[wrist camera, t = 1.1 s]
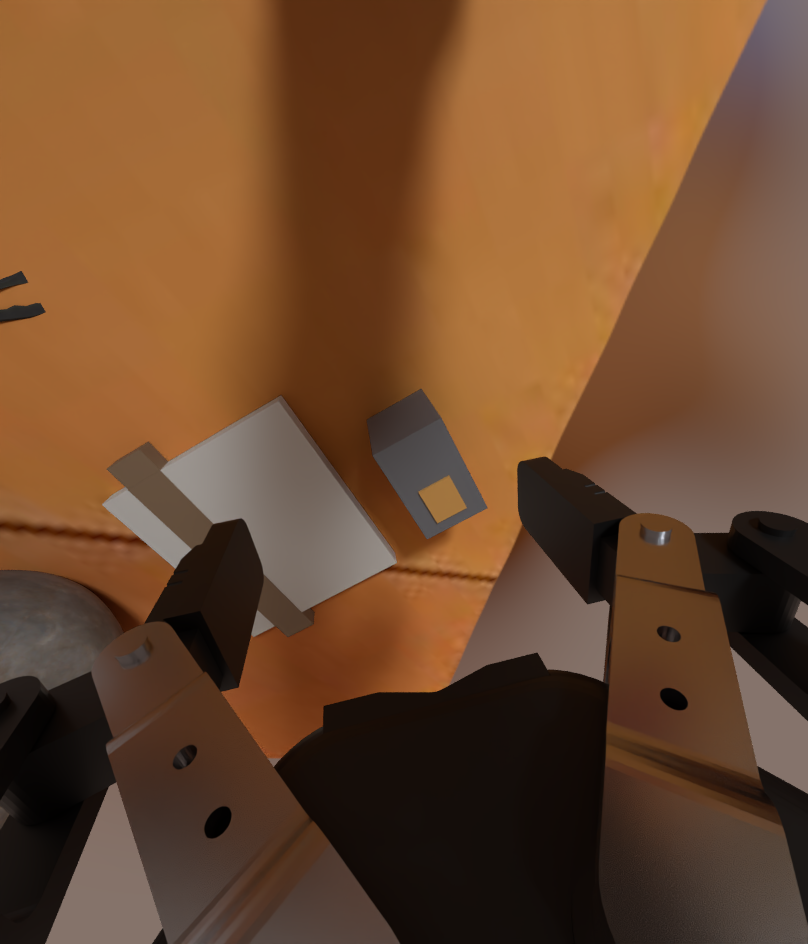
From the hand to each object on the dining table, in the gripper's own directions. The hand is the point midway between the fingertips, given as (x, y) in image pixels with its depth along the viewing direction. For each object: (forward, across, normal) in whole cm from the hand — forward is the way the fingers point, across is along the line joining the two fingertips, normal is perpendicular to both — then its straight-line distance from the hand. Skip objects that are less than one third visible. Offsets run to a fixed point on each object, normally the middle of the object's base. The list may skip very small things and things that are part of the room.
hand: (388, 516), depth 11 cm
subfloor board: (+21, +10, +11) cm, 26 cm away
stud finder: (+21, -4, +6) cm, 22 cm away
